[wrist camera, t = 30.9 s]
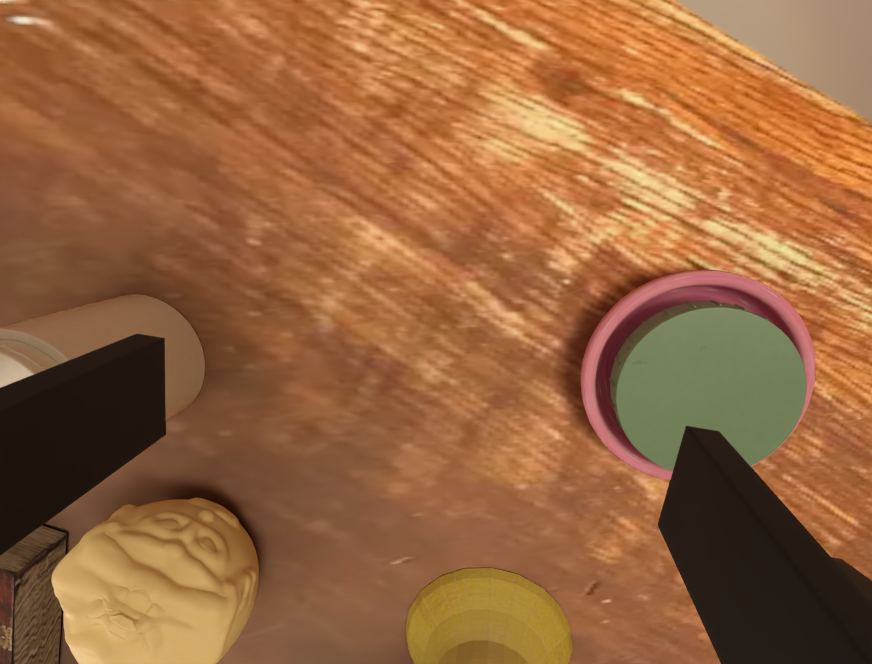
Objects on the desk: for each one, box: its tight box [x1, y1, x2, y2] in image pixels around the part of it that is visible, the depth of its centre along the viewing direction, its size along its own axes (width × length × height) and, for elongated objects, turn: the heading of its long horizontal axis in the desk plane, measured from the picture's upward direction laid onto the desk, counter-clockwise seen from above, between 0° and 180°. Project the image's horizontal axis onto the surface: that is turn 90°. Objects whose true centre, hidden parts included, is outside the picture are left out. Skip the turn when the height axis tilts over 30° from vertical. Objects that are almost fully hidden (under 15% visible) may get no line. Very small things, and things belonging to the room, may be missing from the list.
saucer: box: [581, 270, 815, 480], centre depth 31 cm, size 12×12×3 cm
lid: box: [609, 300, 807, 471], centre depth 29 cm, size 10×10×2 cm
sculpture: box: [51, 498, 259, 664], centre depth 35 cm, size 11×12×11 cm
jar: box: [0, 294, 205, 421], centre depth 32 cm, size 9×9×12 cm
